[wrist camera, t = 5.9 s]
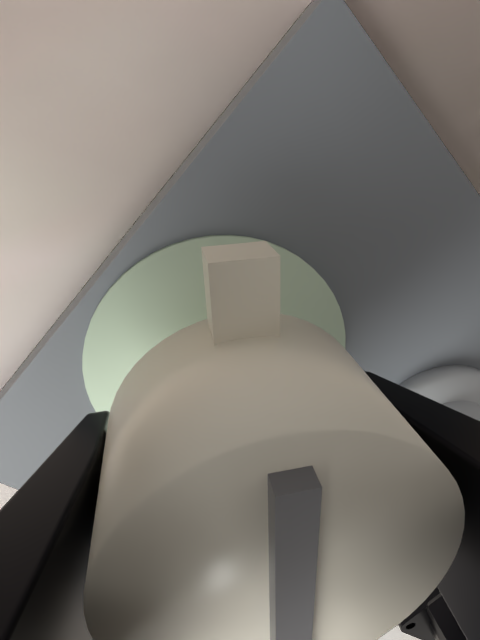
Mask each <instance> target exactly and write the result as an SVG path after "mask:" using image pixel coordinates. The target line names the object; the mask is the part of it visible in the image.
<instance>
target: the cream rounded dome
mask: <svg viewBox="0 0 480 640" xmlns="http://www.w3.org/2000/svg"><path fill="white" fill-rule="evenodd" d="M201 251H202V263H203V275H204V286H205V298H206V310H207V319H205V320H202V321H199V322H196V323H194V324H192V325H190V326H187V327H185V328H183V329H181V330H179V331H177V332H175V333H174V334H172V335H170V336H169V337H167V338H165V339H163V340H162V341H161V342H160V343H158V344H157V345H156V346H154V347H153V348H152V349H150V350H149V351H148V352H147V353H146V354H145V355H144V356H143V357H142V358H141V359H140V360H139V361H138V362H137V363H136V364H135V365H134V366H133V368H132V369H131V370H130V372H129V373H128V374H127V376H126V377H125V378H124V380H123V382H122V384H121V385H120V387H119V389H118V391H117V392H116V395H115V398H114V400H113V403H112V406H111V409H110V414H109V419H108V425H107V432H106V439H105V446H104V453H103V460H102V467H101V475H100V482H99V489H98V496H97V503H96V510H95V517H94V524H93V531H92V538H91V546H90V553H89V560H88V567H87V574H86V581H85V588H84V616H85V620H86V625H87V629H88V631H89V633H90V635H91V637H92V639H93V640H377V639H378V638H380V637H381V636H383V635H384V634H386V633H387V632H389V631H390V630H391V629H393V628H394V627H396V626H397V625H398V624H399V623H401V622H402V621H403V620H404V619H405V618H407V617H408V616H409V615H410V614H411V613H412V612H413V611H415V610H416V609H417V608H418V607H419V606H420V605H421V604H422V603H423V602H424V601H425V600H426V599H427V597H428V596H429V595H430V594H431V593H432V592H433V591H434V589H435V588H436V587H437V586H438V584H439V583H440V581H441V580H442V579H443V577H444V576H445V574H446V573H447V571H448V569H449V568H450V566H451V564H452V562H453V560H454V558H455V556H456V554H457V551H458V548H459V546H460V543H461V539H462V535H463V530H464V521H465V510H464V503H463V497H462V494H461V492H460V489H459V487H458V484H457V482H456V481H455V479H454V478H453V476H452V475H451V473H450V472H449V470H448V469H447V468H446V467H445V465H444V464H443V463H442V462H441V461H440V459H439V458H438V457H437V456H436V455H435V454H434V452H433V451H432V450H431V449H430V448H429V447H428V445H427V444H426V443H425V442H424V441H423V440H422V438H421V437H420V436H419V435H418V434H417V433H416V431H415V430H414V429H413V428H412V427H411V426H410V424H409V423H408V422H407V421H406V420H405V418H404V417H403V416H402V415H401V414H400V413H399V411H398V410H397V409H396V408H395V407H394V406H393V404H392V403H391V402H390V401H389V400H388V399H387V397H386V396H385V395H384V394H383V393H382V392H381V390H380V389H379V388H378V387H377V386H376V385H375V383H374V382H373V381H372V380H371V379H370V378H369V376H368V375H367V374H366V373H365V372H364V370H363V369H362V368H361V367H360V366H359V365H358V363H357V362H356V361H355V360H354V359H353V358H352V356H351V355H350V354H349V353H348V352H347V351H346V349H345V348H344V347H343V346H342V345H341V344H340V343H339V342H338V341H337V340H336V339H335V338H334V337H333V336H331V335H330V334H328V333H327V332H326V331H324V330H323V329H321V328H320V327H318V326H316V325H314V324H312V323H310V322H308V321H305V320H302V319H299V318H296V317H293V316H290V315H285V314H280V255H279V254H278V253H277V252H276V251H275V250H274V249H273V248H272V247H271V246H270V245H269V244H268V242H267V241H258V242H248V243H237V244H227V245H216V246H206V247H201Z"/></svg>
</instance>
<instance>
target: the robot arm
mask: <svg viewBox="0 0 480 640" xmlns="http://www.w3.org/2000/svg"><path fill="white" fill-rule="evenodd" d="M365 373H366V374H367V375H368V376H369V378H370V379H371V380H372V381H373V382H374V383H375V385H376V386H377V387H378V388H379V389H380V390H381V392H382V393H383V394H384V395H385V396H386V397H387V399H388V400H389V401H390V402H391V403H392V404H393V406H394V407H395V408H396V409H397V410H398V411H399V413H400V414H401V415H402V416H403V417H404V418H405V420H406V421H407V422H408V423H409V424H410V426H411V427H412V428H413V429H414V430H415V431H416V433H417V434H418V435H419V436H420V437H421V438H422V440H423V441H424V442H425V443H426V444H427V445H428V447H429V448H430V449H431V450H432V451H433V452H434V454H435V455H436V456H437V457H438V458H439V459H440V461H441V462H442V463H443V464H444V465H445V467H446V468H447V469H448V470H449V472H450V473H451V475H452V476H453V478H454V479H455V481H456V482H457V484H458V487H459V489H460V492H461V494H462V497H463V503H464V510H465V521H464V530H463V535H462V539H461V543H460V546H459V548H458V551H457V554H456V556H455V558H454V560H453V562H452V564H451V566H450V568H449V569H448V571H447V573H446V574H445V576H444V577H443V579H442V580H441V581H440V583H439V584H438V586H437V587H436V588H435V589H434V591H433V592H432V593H431V594H430V595H429V596H428V597H427V599H426V600H425V601H424V602H423V603H422V604H421V605H420V606H419V607H418V608H417V609H416V610H415V611H413V612H412V613H411V614H410V615H409V616H408V617H407V618H405V619H404V620H403V621H402V622H401V623H399V624H398V625H399V627H400V629H401V631H402V632H404V633H406V634H409V635H411V636H414V637H416V638H419V639H421V640H480V421H478V420H476V419H474V418H472V417H470V416H467V415H465V414H463V413H461V412H458V411H456V410H454V409H452V408H449V407H447V406H445V405H443V404H441V403H438V402H436V401H434V400H432V399H429V398H427V397H425V396H423V395H420V394H418V393H416V392H414V391H412V390H409V389H407V388H405V387H403V386H400V385H398V384H396V383H394V382H391V381H389V380H387V379H385V378H383V377H380V376H378V375H376V374H374V373H371V372H369V371H365ZM109 414H110V412H109V411H100V412H93V413H89V414H87V415H86V416H85V417H84V418H83V419H82V420H81V421H80V423H79V424H78V425H77V426H76V427H75V428H74V429H73V430H72V431H71V432H70V434H69V435H68V436H67V437H66V438H65V439H64V440H63V441H62V442H61V443H60V445H59V446H58V447H57V448H56V449H55V450H54V451H53V452H52V453H51V455H50V456H49V457H48V458H47V459H46V460H45V461H44V462H43V463H42V464H41V466H40V467H39V468H38V469H37V470H36V471H35V472H34V473H33V474H32V475H31V477H30V478H29V479H28V480H27V481H26V482H25V483H24V484H23V485H22V487H21V488H20V489H19V490H18V491H17V492H16V493H15V494H14V495H13V496H12V498H11V499H10V500H9V501H8V502H7V503H6V504H5V505H4V506H3V507H2V509H1V510H0V640H93V639H92V637H91V635H90V633H89V631H88V629H87V625H86V620H85V616H84V588H85V581H86V574H87V567H88V560H89V553H90V546H91V538H92V531H93V524H94V517H95V510H96V503H97V496H98V489H99V482H100V475H101V467H102V460H103V453H104V446H105V439H106V432H107V425H108V419H109Z"/></svg>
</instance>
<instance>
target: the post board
mask: <svg viewBox="0 0 480 640" xmlns="http://www.w3.org/2000/svg"><path fill="white" fill-rule="evenodd" d="M258 241H267V242H268V244H269V245H270V246H271V247H272V248H273V249H274V250H275V251H276V252H277V253H278V254H279V255H280V314H285V315H290V316H293V317H296V318H299V319H302V320H305V321H308V322H310V323H312V324H314V325H316V326H318V327H320V328H321V329H323V330H324V331H326V332H327V333H328V334H330V335H331V336H333V337H334V338H335V339H336V340H337V341H338V342H339V343H340V344H341V345H342V346H343V347H344V348H345V349H346V351H347V352H348V353H349V354H350V355H351V356H352V358H353V359H354V360H355V361H356V362H357V363H358V365H359V366H360V367H361V368H362V369H363V370H364V372H365V371H369V372H371V373H374V374H376V375H378V376H380V377H383V378H385V379H387V380H389V381H391V382H394V383H396V384H398V385H400V386H403V387H405V388H407V389H409V390H412V391H414V392H416V393H418V394H420V395H423V396H425V397H427V398H429V399H432V400H434V401H436V402H438V403H441V404H443V405H445V406H447V407H449V408H452V409H454V410H456V411H458V412H461V413H463V414H465V415H467V416H470V417H472V418H474V419H476V420H478V421H480V195H479V194H478V193H477V191H476V190H475V188H474V187H473V185H472V184H471V182H470V181H469V180H468V178H467V177H466V175H465V174H464V172H463V171H462V170H461V168H460V167H459V165H458V164H457V162H456V161H455V159H454V158H453V157H452V155H451V154H450V152H449V151H448V149H447V148H446V147H445V145H444V144H443V142H442V141H441V139H440V138H439V136H438V135H437V134H436V132H435V131H434V129H433V128H432V126H431V125H430V124H429V122H428V121H427V119H426V118H425V116H424V115H423V113H422V112H421V111H420V109H419V108H418V106H417V105H416V103H415V102H414V101H413V99H412V98H411V96H410V95H409V93H408V92H407V91H406V89H405V88H404V86H403V85H402V83H401V82H400V80H399V79H398V78H397V76H396V75H395V73H394V72H393V70H392V69H391V68H390V66H389V65H388V63H387V62H386V60H385V59H384V57H383V56H382V55H381V53H380V52H379V50H378V49H377V47H376V46H375V45H374V43H373V42H372V40H371V39H370V37H369V36H368V34H367V33H366V32H365V30H364V29H363V27H362V26H361V24H360V23H359V22H358V20H357V19H356V17H355V16H354V14H353V13H352V12H351V10H350V9H349V7H348V6H347V4H346V3H345V1H344V0H314V1H313V2H311V3H310V4H309V5H308V7H307V8H306V9H305V10H304V12H303V13H302V14H301V15H300V17H299V18H298V19H297V20H296V22H295V23H294V24H293V25H292V27H291V28H290V29H289V30H288V32H287V33H286V34H285V35H284V37H283V38H282V39H281V41H280V42H279V43H278V44H277V46H276V47H275V48H274V49H273V51H272V52H271V53H270V54H269V56H268V57H267V58H266V59H265V61H264V62H263V63H262V64H261V66H260V67H259V68H258V69H257V71H256V72H255V73H254V74H253V76H252V77H251V78H250V79H249V81H248V82H247V83H246V84H245V86H244V87H243V88H242V89H241V91H240V92H239V93H238V94H237V96H236V97H235V98H234V99H233V101H232V102H231V103H230V104H229V106H228V107H227V108H226V109H225V111H224V112H223V113H222V114H221V116H220V117H219V118H218V119H217V121H216V122H215V123H214V124H213V126H212V127H211V128H210V129H209V131H208V132H207V133H206V134H205V136H204V137H203V138H202V139H201V141H200V142H199V143H198V144H197V146H196V147H195V148H194V149H193V151H192V152H191V153H190V154H189V156H188V157H187V158H186V159H185V161H184V162H183V163H182V164H181V166H180V167H179V168H178V169H177V171H176V172H175V173H174V174H173V176H172V177H171V178H170V179H169V181H168V182H167V183H166V184H165V186H164V187H163V188H162V189H161V191H160V192H159V193H158V194H157V196H156V197H155V198H154V199H153V201H152V202H151V203H150V204H149V206H148V207H147V208H146V209H145V211H144V212H143V213H142V214H141V216H140V217H139V218H138V219H137V221H136V222H135V223H134V224H133V226H132V227H131V228H130V229H129V231H128V232H127V233H126V234H125V236H124V237H123V238H122V239H121V241H120V242H119V243H118V244H117V246H116V247H115V248H114V249H113V251H112V252H111V253H110V254H109V256H108V257H107V258H106V260H105V261H104V262H103V263H102V265H101V266H100V267H99V268H98V270H97V271H96V272H95V273H94V275H93V276H92V277H91V278H90V280H89V281H88V282H87V283H86V285H85V286H84V287H83V288H82V290H81V291H80V292H79V293H78V295H77V296H76V297H75V298H74V300H73V301H72V302H71V303H70V305H69V306H68V307H67V308H66V310H65V311H64V312H63V313H62V315H61V316H60V317H59V318H58V320H57V321H56V322H55V323H54V325H53V326H52V327H51V328H50V330H49V331H48V332H47V333H46V335H45V336H44V337H43V338H42V340H41V341H40V342H39V343H38V345H37V346H36V347H35V348H34V350H33V351H32V352H31V353H30V355H29V356H28V357H27V358H26V360H25V361H24V362H23V363H22V365H21V366H20V367H19V368H18V370H17V371H16V372H15V373H14V375H13V376H12V377H11V378H10V380H9V381H8V382H7V383H6V385H5V386H4V387H3V388H2V390H1V391H0V483H2V484H5V485H7V486H10V487H12V488H15V489H17V490H19V489H20V488H21V487H22V485H23V484H24V483H25V482H26V481H27V480H28V479H29V478H30V477H31V475H32V474H33V473H34V472H35V471H36V470H37V469H38V468H39V467H40V466H41V464H42V463H43V462H44V461H45V460H46V459H47V458H48V457H49V456H50V455H51V453H52V452H53V451H54V450H55V449H56V448H57V447H58V446H59V445H60V443H61V442H62V441H63V440H64V439H65V438H66V437H67V436H68V435H69V434H70V432H71V431H72V430H73V429H74V428H75V427H76V426H77V425H78V424H79V423H80V421H81V420H82V419H83V418H84V417H85V416H86V415H87V414H89V413H93V412H100V411H109V412H110V409H111V406H112V403H113V400H114V398H115V395H116V392H117V391H118V389H119V387H120V385H121V384H122V382H123V380H124V378H125V377H126V376H127V374H128V373H129V372H130V370H131V369H132V368H133V366H134V365H135V364H136V363H137V362H138V361H139V360H140V359H141V358H142V357H143V356H144V355H145V354H146V353H147V352H148V351H149V350H150V349H152V348H153V347H154V346H156V345H157V344H158V343H160V342H161V341H162V340H163V339H165V338H167V337H169V336H170V335H172V334H174V333H175V332H177V331H179V330H181V329H183V328H185V327H187V326H190V325H192V324H194V323H196V322H199V321H202V320H205V319H207V310H206V298H205V286H204V275H203V263H202V251H201V247H206V246H216V245H227V244H237V243H248V242H258Z"/></svg>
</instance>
